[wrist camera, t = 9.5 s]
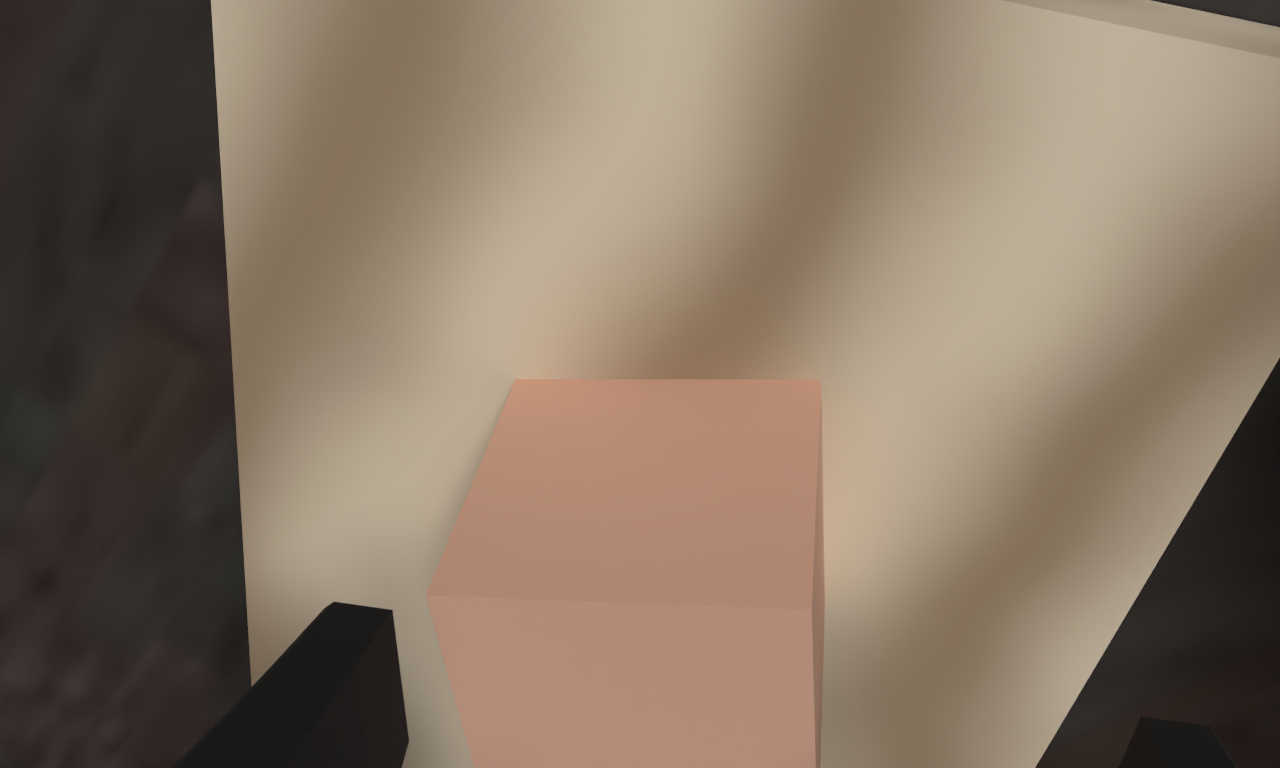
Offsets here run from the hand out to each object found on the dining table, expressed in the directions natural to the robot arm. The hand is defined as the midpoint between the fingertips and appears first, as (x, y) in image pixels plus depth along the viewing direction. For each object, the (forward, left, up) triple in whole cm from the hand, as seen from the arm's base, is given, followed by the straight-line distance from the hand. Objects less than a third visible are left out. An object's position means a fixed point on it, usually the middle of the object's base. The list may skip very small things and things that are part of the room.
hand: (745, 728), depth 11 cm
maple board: (+1, +4, -9) cm, 10 cm away
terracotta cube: (+1, +4, -8) cm, 9 cm away
